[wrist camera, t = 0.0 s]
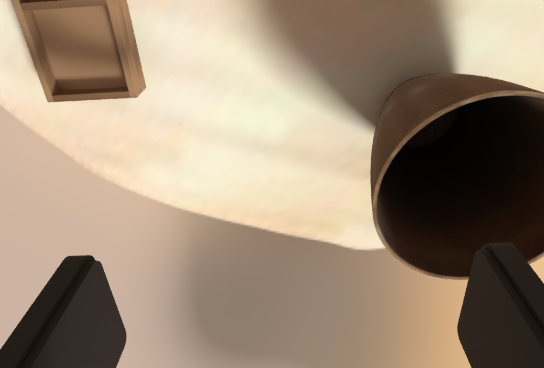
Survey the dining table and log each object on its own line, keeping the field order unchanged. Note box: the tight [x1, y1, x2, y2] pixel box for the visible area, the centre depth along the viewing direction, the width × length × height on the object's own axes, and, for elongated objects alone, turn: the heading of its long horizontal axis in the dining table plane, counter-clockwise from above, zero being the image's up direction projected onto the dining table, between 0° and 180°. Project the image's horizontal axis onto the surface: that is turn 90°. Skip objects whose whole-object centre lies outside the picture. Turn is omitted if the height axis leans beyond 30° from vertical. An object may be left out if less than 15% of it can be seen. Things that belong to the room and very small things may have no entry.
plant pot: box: [371, 74, 544, 280], centre depth 34 cm, size 15×15×16 cm
